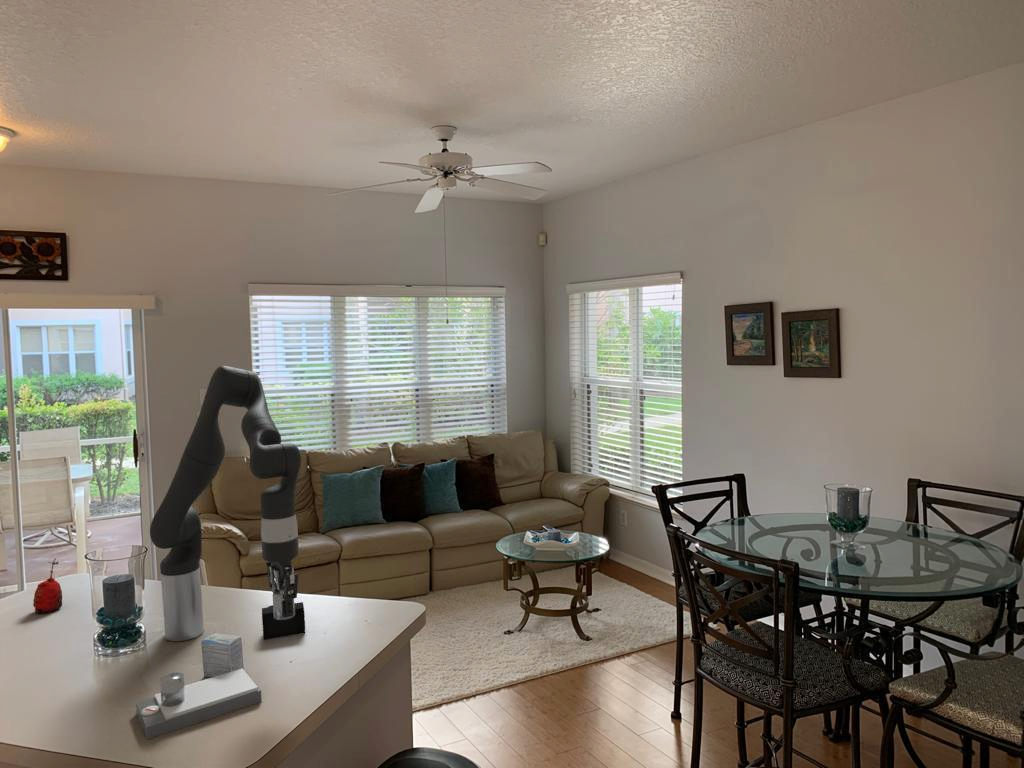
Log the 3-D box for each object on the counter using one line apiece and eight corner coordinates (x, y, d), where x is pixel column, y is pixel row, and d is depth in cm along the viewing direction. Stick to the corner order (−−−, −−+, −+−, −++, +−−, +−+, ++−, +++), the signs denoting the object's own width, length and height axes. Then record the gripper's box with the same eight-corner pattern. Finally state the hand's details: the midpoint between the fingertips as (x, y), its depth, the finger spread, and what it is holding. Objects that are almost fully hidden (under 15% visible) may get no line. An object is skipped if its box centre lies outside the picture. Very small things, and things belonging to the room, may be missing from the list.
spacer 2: (271, 615, 158) (269, 593, 158) (290, 610, 161) (289, 588, 160) (277, 621, 155) (276, 598, 154) (297, 616, 157) (296, 593, 157)
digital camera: (304, 625, 192) (303, 599, 192) (305, 633, 187) (304, 607, 187) (263, 632, 189) (261, 606, 189) (263, 640, 184) (261, 613, 183)
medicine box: (244, 672, 167) (242, 635, 166) (231, 681, 163) (228, 644, 162) (217, 668, 169) (214, 632, 169) (203, 676, 165) (200, 640, 165)
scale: (136, 713, 150) (135, 699, 150) (245, 680, 163) (244, 666, 163) (147, 739, 140) (146, 723, 140) (261, 701, 153) (260, 687, 153)
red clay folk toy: (43, 605, 213) (39, 556, 212) (68, 603, 214) (64, 554, 212) (29, 616, 205) (24, 564, 204) (55, 614, 206) (51, 562, 205)
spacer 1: (160, 699, 149) (159, 675, 149) (183, 693, 152) (182, 670, 151) (162, 708, 146) (161, 685, 145) (186, 702, 148) (185, 679, 147)
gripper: (308, 539, 153) (312, 618, 154) (285, 525, 164) (289, 598, 166) (273, 547, 148) (277, 628, 150) (251, 532, 160) (256, 607, 161)
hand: (284, 612), depth 158 cm, fingers closed on spacer 2, 4 cm apart
